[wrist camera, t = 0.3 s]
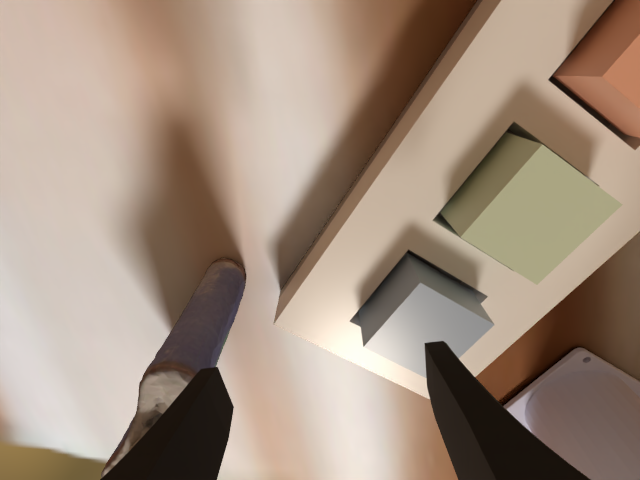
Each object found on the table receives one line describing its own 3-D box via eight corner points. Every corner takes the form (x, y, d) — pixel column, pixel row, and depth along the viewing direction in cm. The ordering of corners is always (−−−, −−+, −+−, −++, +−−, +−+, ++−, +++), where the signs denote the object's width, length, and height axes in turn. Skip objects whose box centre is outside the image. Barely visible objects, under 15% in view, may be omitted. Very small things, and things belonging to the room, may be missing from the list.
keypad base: (775, 29, 15) (879, 19, 12) (428, 366, 24) (442, 405, 22) (591, -169, 13) (668, -239, 10) (280, 291, 22) (273, 324, 19)
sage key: (575, 183, 16) (622, 204, 13) (506, 254, 18) (537, 285, 15) (506, 132, 15) (542, 144, 13) (439, 212, 17) (460, 237, 14)
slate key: (471, 290, 19) (494, 324, 16) (420, 343, 20) (433, 381, 18) (406, 252, 18) (420, 282, 15) (358, 311, 19) (363, 347, 17)
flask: (215, 249, 21) (120, 405, 11) (260, 269, 21) (207, 434, 12) (170, 351, 24) (68, 535, 15) (209, 366, 25) (136, 552, 15)
